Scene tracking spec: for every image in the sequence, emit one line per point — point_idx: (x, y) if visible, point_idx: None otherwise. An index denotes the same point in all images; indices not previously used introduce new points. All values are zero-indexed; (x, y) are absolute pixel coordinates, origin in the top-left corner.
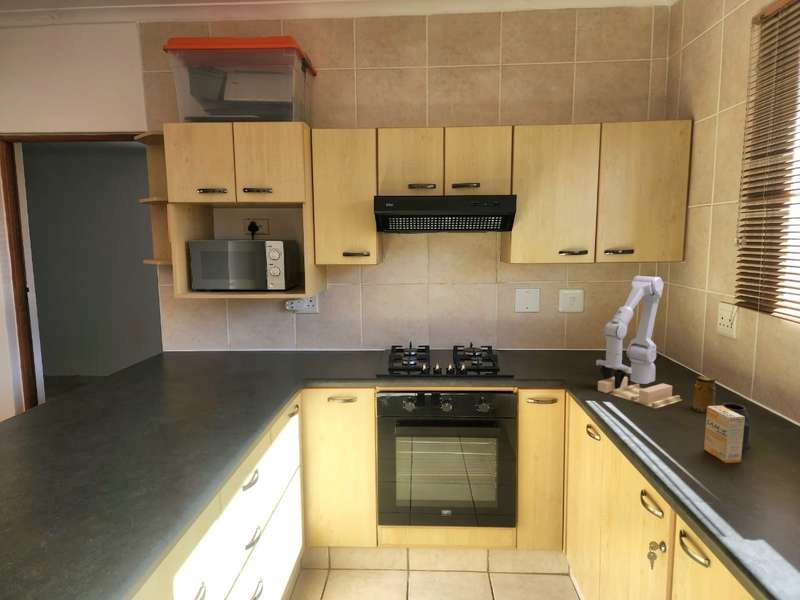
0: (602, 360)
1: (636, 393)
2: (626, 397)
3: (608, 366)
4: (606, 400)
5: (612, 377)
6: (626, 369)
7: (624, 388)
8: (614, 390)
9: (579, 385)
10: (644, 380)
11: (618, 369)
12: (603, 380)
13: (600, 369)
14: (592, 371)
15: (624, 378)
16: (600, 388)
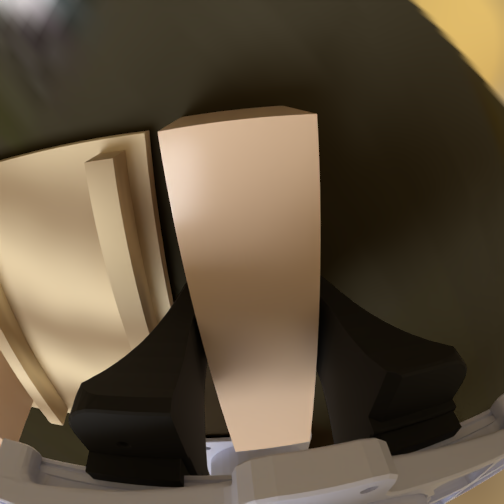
0: (485, 478)
1: (70, 330)
2: (11, 194)
3: (262, 486)
4: (72, 11)
5: (307, 381)
6: (10, 485)
7: (119, 313)
8: (96, 176)
9: (477, 148)
10: (214, 472)
11: (171, 486)
12: (300, 223)
13: (449, 352)
14: (482, 386)
15: (228, 429)
16: (255, 111)
